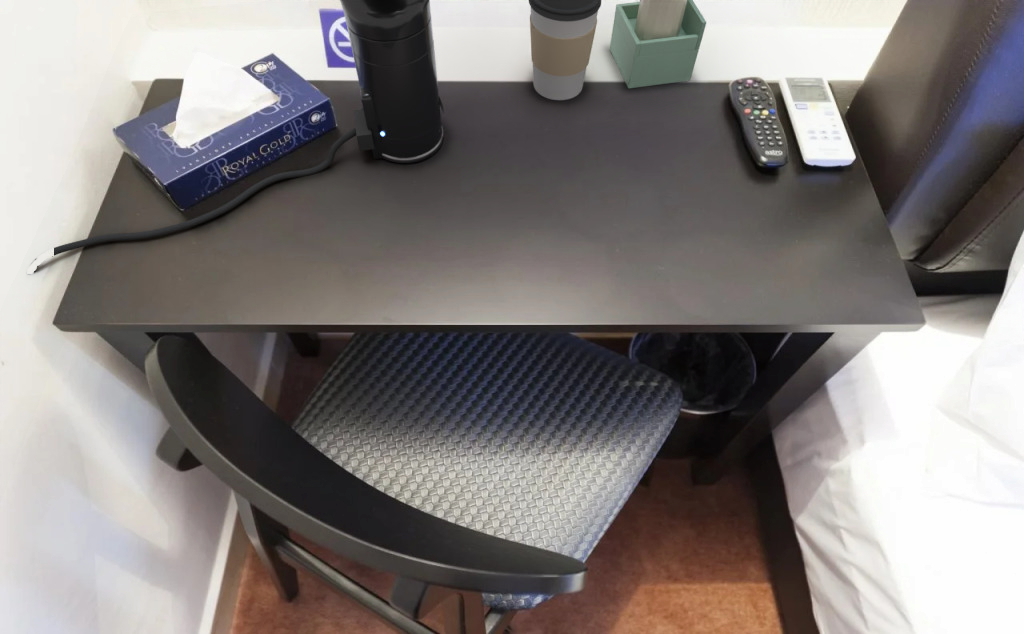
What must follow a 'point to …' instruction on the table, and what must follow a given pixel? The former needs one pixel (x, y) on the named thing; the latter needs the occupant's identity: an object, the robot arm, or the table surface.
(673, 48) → the mint green open box
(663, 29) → the cup
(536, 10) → the coffee cup
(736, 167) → the table surface
